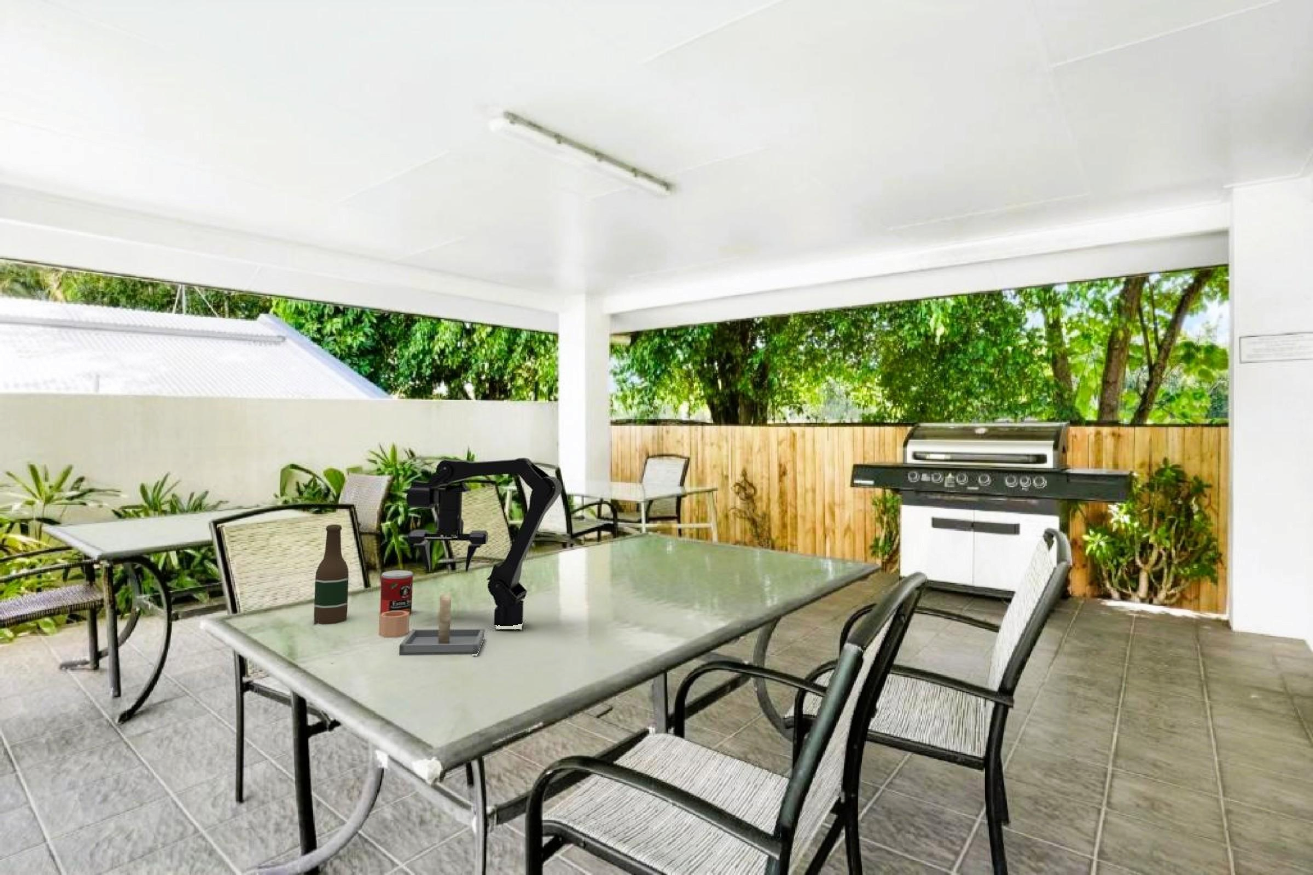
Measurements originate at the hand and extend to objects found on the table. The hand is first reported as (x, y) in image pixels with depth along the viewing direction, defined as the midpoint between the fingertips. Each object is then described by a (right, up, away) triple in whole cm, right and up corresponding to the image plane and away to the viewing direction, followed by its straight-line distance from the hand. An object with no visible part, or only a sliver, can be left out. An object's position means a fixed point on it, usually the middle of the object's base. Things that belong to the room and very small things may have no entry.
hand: (447, 571), depth 163 cm
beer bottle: (-28, -12, -2) cm, 31 cm away
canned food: (-15, -13, +6) cm, 21 cm away
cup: (-9, -13, -11) cm, 19 cm away
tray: (+5, -13, -20) cm, 24 cm away
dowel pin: (+5, -12, -20) cm, 24 cm away
